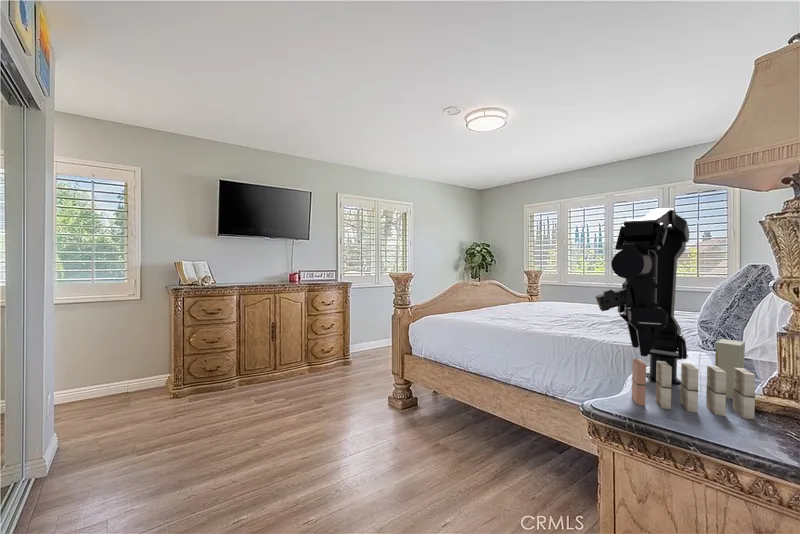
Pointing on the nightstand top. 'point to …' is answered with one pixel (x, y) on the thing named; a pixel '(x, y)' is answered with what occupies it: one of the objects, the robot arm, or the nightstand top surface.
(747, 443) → the nightstand top surface
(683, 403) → the domino
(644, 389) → the domino
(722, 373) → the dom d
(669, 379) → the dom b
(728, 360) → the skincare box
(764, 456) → the nightstand top surface
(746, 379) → the domino
